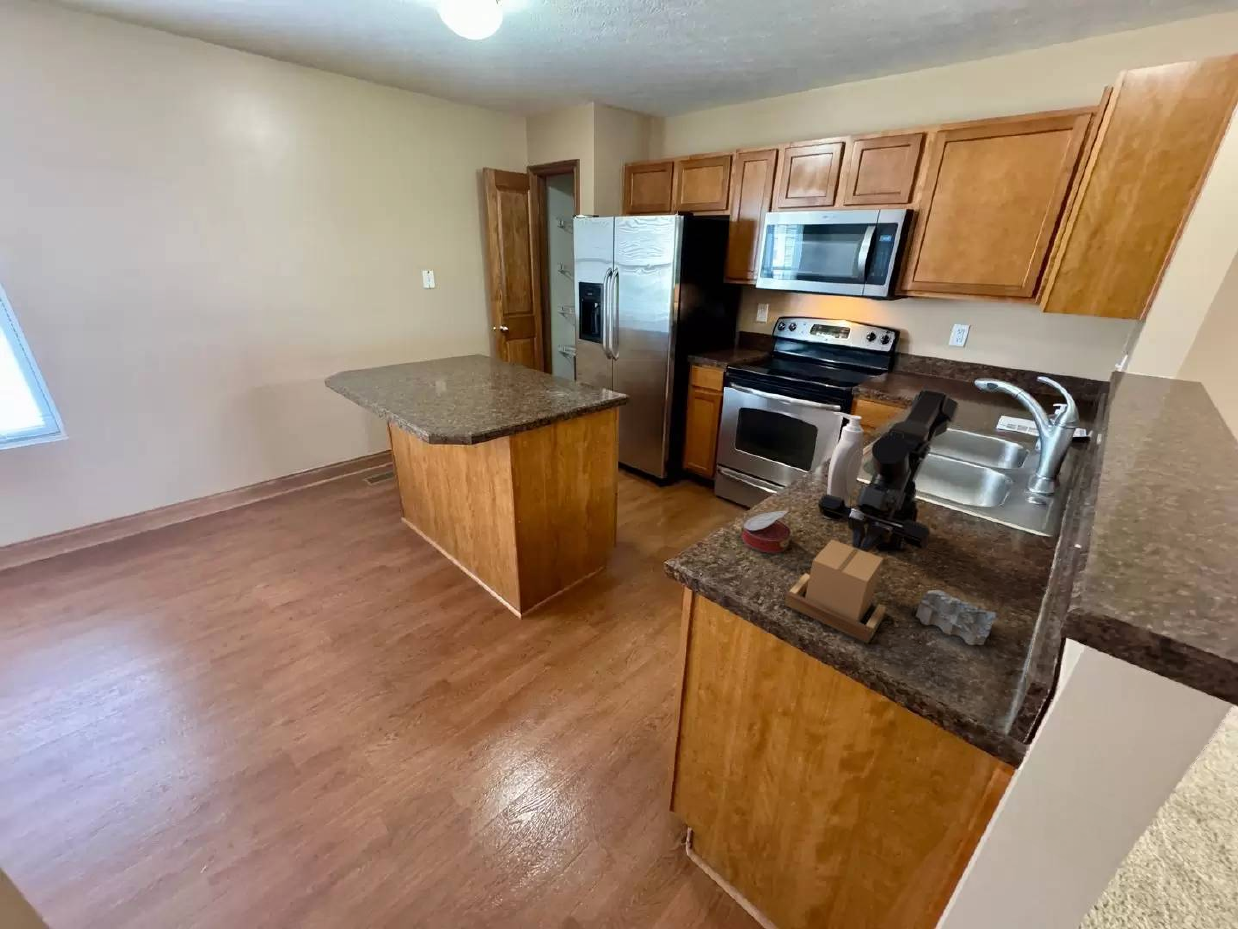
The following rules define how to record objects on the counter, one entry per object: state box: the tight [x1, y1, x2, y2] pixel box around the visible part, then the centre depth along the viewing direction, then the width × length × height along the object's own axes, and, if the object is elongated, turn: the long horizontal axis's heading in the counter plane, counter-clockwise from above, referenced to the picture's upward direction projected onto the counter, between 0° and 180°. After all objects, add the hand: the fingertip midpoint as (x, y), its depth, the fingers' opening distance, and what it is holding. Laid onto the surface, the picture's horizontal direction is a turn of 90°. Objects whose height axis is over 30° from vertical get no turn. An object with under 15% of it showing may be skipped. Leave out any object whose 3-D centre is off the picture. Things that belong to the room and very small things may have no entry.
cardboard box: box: [804, 539, 884, 623], centre depth 90 cm, size 9×9×10 cm
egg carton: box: [915, 589, 997, 646], centre depth 88 cm, size 11×8×4 cm
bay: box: [784, 573, 887, 645], centre depth 90 cm, size 8×14×2 cm, turn 49°
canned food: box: [741, 509, 791, 554], centre depth 111 cm, size 11×10×10 cm
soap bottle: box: [824, 411, 865, 520], centre depth 121 cm, size 13×8×24 cm, turn 133°
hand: (854, 561), depth 93 cm, fingers closed, pressing on cardboard box
